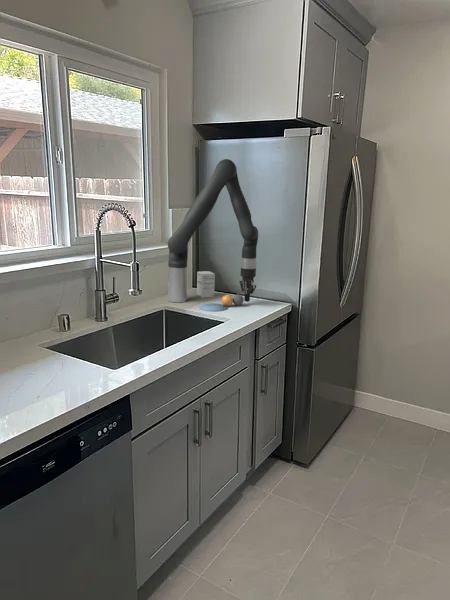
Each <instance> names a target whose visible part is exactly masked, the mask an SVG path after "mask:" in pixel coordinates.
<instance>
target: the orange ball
mask: <svg viewBox="0 0 450 600" xmlns="http://www.w3.org/2000/svg"><path fill="white" fill-rule="evenodd" d="M221 304H222V305H224V306H227V307H230V306H232V305H233V304H234V303H233V296H231V295H229V294H226V295H223V296H222V298H221Z"/></svg>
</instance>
